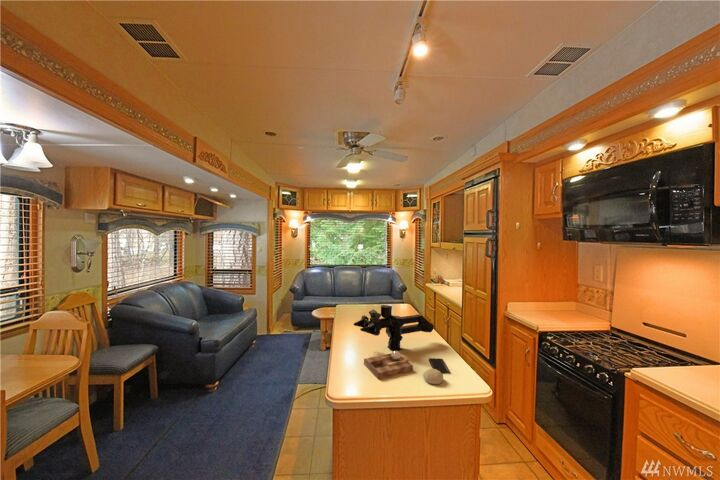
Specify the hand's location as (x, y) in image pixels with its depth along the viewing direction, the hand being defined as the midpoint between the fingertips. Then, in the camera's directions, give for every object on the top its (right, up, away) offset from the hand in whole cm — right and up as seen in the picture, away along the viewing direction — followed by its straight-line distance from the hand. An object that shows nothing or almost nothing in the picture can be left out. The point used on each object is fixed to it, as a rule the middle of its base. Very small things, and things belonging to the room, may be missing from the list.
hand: (357, 326), depth 154 cm
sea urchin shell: (+37, -18, -24) cm, 48 cm away
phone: (+44, -18, -10) cm, 48 cm away
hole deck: (+16, -17, -13) cm, 27 cm away
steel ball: (+21, -12, -11) cm, 26 cm away
